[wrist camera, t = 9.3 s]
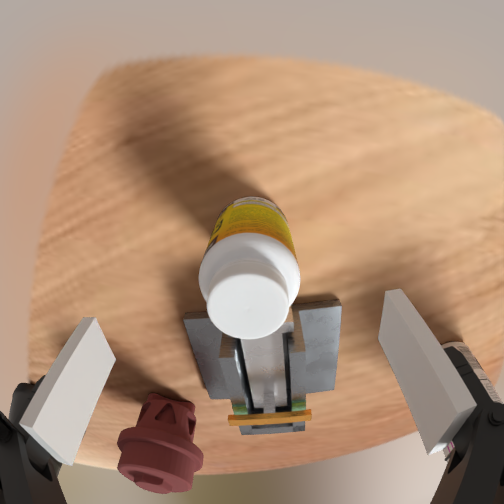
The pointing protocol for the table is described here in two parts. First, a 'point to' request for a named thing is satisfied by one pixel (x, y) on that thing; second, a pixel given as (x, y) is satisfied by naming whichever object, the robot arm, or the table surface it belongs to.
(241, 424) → the plunger
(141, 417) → the mechanical component
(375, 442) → the table surface
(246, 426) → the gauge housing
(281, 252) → the supplement bottle
